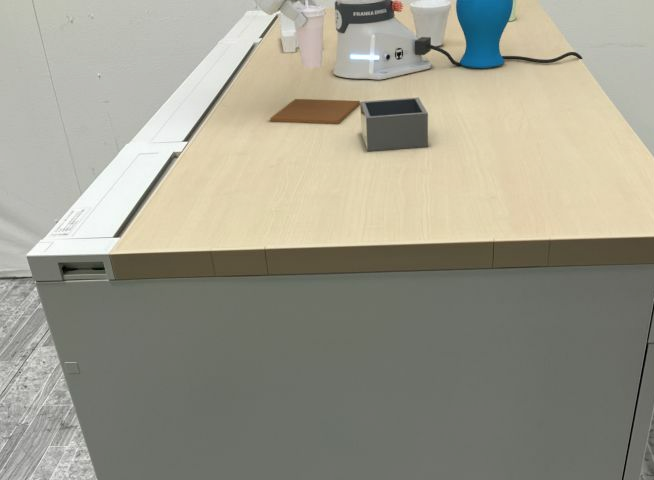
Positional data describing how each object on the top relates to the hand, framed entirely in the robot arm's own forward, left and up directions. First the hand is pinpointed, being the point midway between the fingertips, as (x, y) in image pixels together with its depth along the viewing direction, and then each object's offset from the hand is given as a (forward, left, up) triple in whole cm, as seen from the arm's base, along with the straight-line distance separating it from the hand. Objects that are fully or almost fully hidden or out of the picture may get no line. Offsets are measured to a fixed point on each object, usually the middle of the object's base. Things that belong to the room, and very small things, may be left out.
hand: (311, 19), depth 154 cm
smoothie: (+1, 0, -8) cm, 8 cm away
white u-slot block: (-21, -63, -16) cm, 69 cm away
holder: (-5, +25, -16) cm, 30 cm away
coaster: (0, 0, -16) cm, 16 cm away
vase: (-47, -15, -16) cm, 52 cm away
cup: (-47, -40, -16) cm, 64 cm away
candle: (-79, -56, -16) cm, 98 cm away
